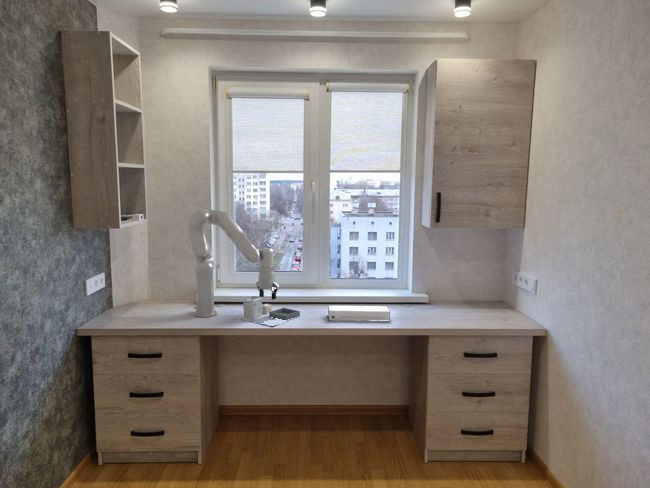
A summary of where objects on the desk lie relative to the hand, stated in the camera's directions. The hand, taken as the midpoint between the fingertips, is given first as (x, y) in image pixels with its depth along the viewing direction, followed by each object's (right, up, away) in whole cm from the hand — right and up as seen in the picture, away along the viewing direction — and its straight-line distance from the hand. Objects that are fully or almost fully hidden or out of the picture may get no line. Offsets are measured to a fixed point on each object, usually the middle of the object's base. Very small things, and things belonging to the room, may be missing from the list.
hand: (267, 298), depth 257 cm
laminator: (+52, -11, -8) cm, 54 cm away
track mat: (0, -10, -15) cm, 19 cm away
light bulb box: (-7, -10, -11) cm, 16 cm away
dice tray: (+10, -10, -7) cm, 16 cm away
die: (-1, -9, +1) cm, 9 cm away
